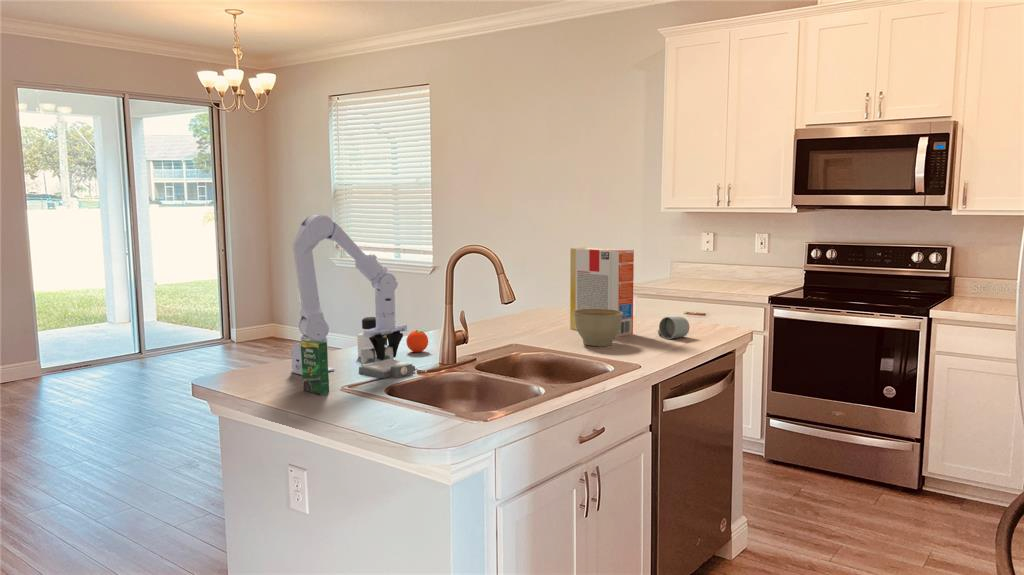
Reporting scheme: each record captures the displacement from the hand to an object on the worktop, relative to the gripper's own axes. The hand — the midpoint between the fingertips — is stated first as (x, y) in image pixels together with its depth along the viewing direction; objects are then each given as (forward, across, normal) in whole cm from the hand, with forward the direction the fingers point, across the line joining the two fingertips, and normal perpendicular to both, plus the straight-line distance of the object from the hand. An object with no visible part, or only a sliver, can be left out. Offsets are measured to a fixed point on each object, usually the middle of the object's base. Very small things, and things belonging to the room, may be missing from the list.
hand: (386, 358), depth 221 cm
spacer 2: (+1, 0, 0) cm, 1 cm away
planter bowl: (+2, +64, -31) cm, 71 cm away
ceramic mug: (+2, +90, -43) cm, 100 cm away
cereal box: (+2, +84, -18) cm, 86 cm away
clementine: (+2, +17, +5) cm, 18 cm away
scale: (+1, -7, -11) cm, 13 cm away
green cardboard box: (+2, -33, -13) cm, 36 cm away
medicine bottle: (+2, +4, +12) cm, 13 cm away
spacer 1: (+2, -6, +1) cm, 6 cm away
